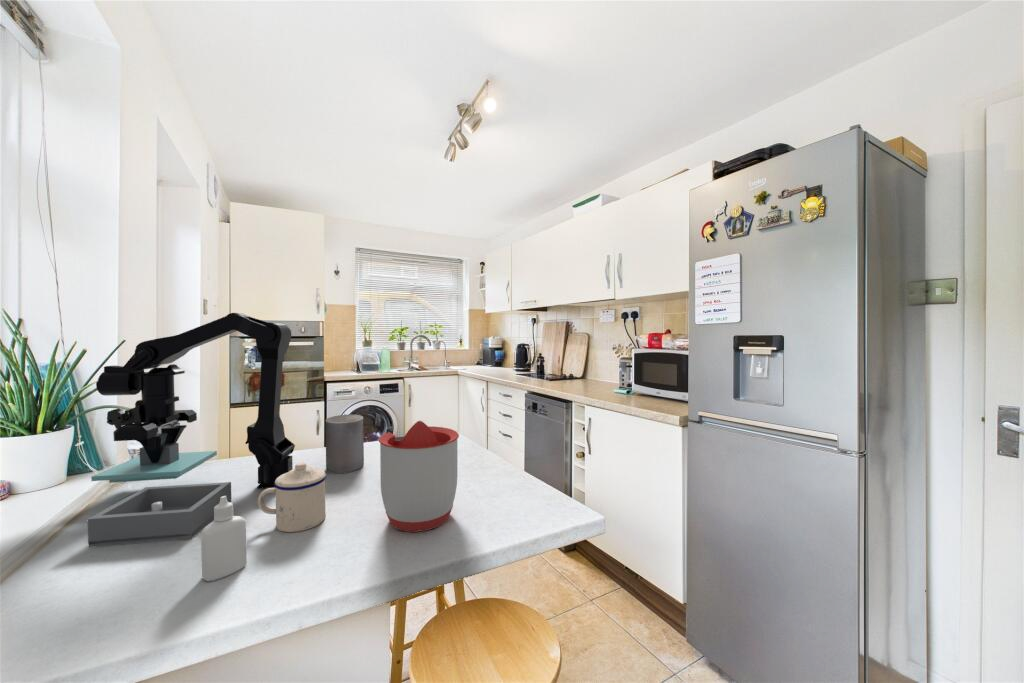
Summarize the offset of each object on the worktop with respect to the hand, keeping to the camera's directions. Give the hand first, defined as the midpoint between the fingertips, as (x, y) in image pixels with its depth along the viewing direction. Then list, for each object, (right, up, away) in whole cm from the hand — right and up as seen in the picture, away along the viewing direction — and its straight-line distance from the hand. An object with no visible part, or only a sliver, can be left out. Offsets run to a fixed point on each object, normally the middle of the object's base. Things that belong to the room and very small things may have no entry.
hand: (160, 460), depth 92 cm
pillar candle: (+37, -7, +16) cm, 41 cm away
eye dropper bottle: (+37, -9, -30) cm, 49 cm away
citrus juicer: (+63, -8, -12) cm, 65 cm away
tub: (+15, -8, -15) cm, 23 cm away
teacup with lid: (+39, -8, -15) cm, 43 cm away
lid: (0, -3, 0) cm, 3 cm away
